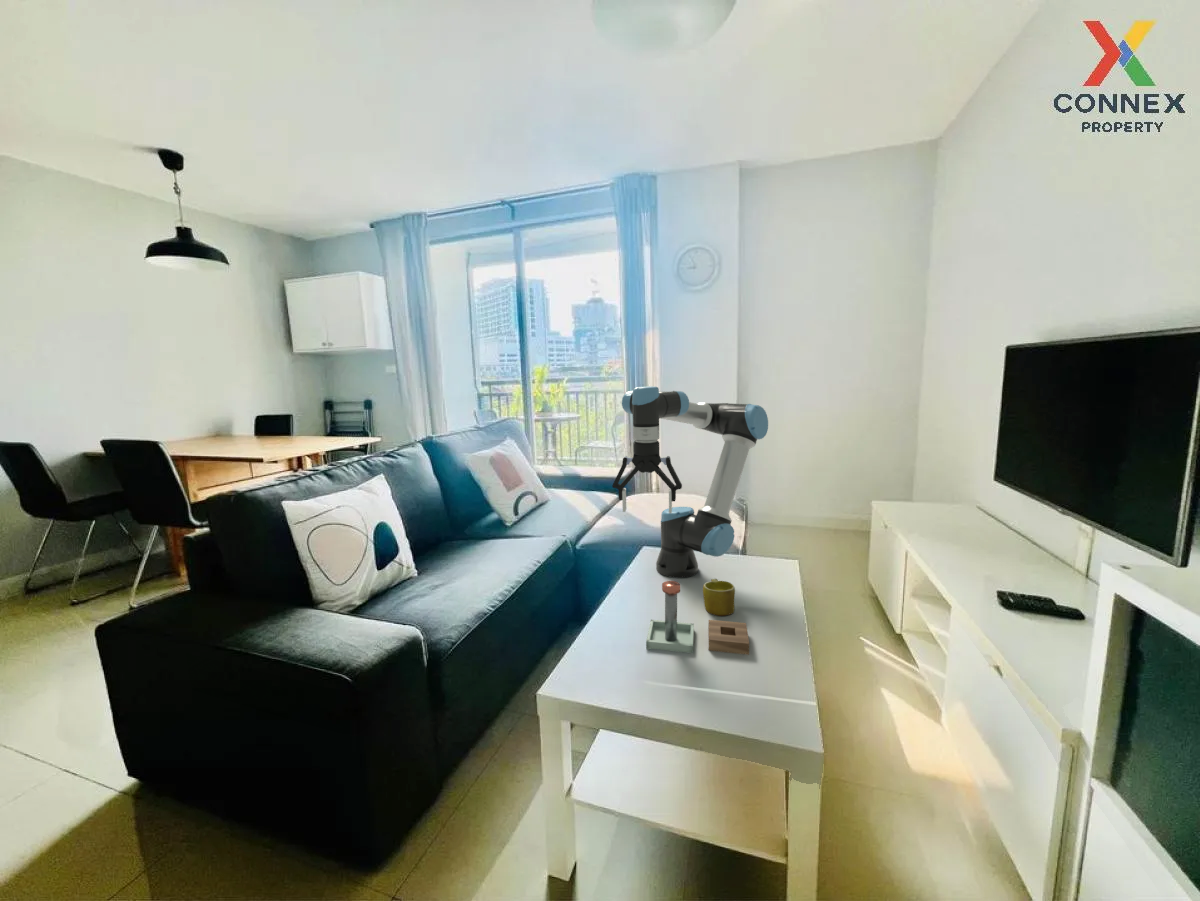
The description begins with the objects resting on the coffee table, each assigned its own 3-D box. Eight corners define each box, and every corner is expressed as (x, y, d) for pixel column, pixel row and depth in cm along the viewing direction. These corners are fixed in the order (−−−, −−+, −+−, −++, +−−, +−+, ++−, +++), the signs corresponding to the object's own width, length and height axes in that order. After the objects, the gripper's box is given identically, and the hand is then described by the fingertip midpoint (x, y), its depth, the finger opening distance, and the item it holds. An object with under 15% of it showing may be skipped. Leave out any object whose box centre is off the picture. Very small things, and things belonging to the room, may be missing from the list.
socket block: (708, 631, 131) (708, 619, 130) (745, 634, 128) (746, 623, 128) (708, 651, 121) (708, 639, 120) (748, 656, 119) (749, 643, 118)
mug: (742, 616, 135) (731, 582, 136) (707, 623, 137) (697, 589, 138) (741, 603, 146) (731, 572, 147) (709, 610, 149) (699, 579, 150)
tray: (650, 627, 133) (650, 619, 133) (693, 631, 130) (693, 623, 130) (646, 649, 123) (646, 641, 122) (692, 654, 120) (692, 646, 120)
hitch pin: (661, 642, 125) (661, 588, 122) (662, 632, 129) (662, 580, 127) (679, 644, 124) (679, 589, 121) (680, 634, 128) (680, 581, 126)
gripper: (601, 442, 133) (603, 513, 137) (690, 442, 129) (690, 516, 132) (606, 438, 141) (608, 506, 144) (690, 438, 136) (690, 508, 140)
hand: (647, 511), depth 138 cm, fingers open, 13 cm apart
